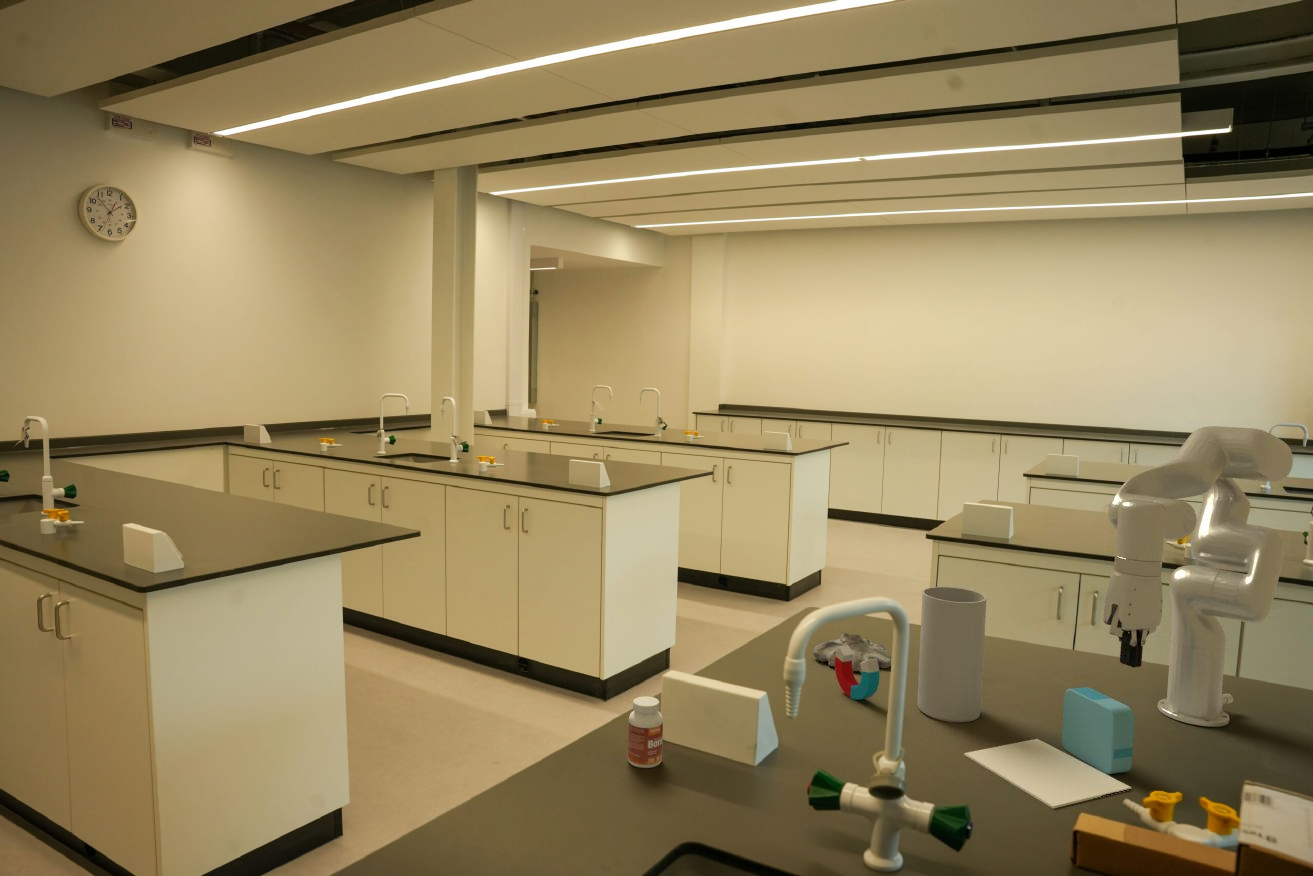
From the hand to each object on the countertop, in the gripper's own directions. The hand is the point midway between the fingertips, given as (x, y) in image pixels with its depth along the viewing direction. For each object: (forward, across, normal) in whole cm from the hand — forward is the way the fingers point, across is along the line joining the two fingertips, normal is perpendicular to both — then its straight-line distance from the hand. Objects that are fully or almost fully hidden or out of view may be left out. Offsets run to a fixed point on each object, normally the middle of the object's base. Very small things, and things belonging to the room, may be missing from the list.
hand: (1130, 664), depth 152 cm
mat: (+18, +20, 0) cm, 26 cm away
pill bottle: (+19, +85, -28) cm, 92 cm away
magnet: (+18, +31, -40) cm, 54 cm away
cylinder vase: (+18, +17, -27) cm, 37 cm away
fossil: (+18, +17, -59) cm, 64 cm away
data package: (+18, +7, 0) cm, 19 cm away
